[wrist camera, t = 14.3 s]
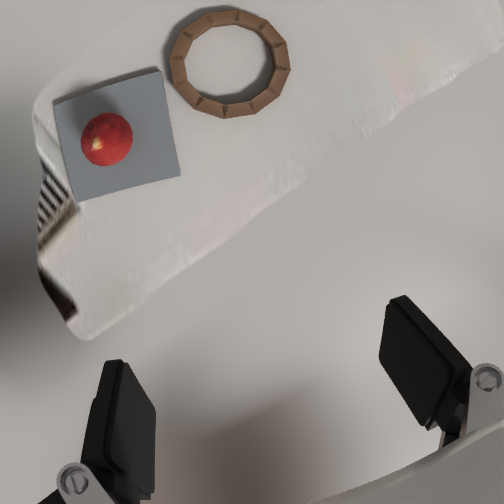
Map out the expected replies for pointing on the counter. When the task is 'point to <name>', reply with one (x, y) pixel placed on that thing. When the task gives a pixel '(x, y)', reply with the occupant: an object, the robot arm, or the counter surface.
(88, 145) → the onion
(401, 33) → the counter surface
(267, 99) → the ring holder
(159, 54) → the counter surface
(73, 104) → the board
